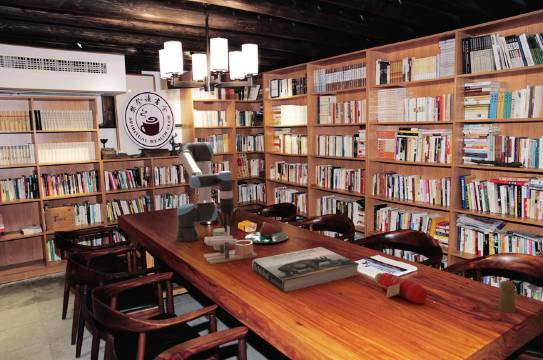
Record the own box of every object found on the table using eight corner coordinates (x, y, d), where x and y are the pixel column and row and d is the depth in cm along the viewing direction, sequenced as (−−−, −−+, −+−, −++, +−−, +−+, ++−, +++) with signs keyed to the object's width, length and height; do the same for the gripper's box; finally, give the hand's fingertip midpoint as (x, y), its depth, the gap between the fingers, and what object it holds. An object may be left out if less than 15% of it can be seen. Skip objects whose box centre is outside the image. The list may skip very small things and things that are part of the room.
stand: (203, 256, 229) (202, 239, 228) (247, 249, 240) (247, 233, 239) (210, 264, 216) (209, 246, 215) (257, 256, 227) (256, 239, 226)
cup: (232, 251, 234) (232, 241, 233) (249, 249, 238) (248, 239, 237) (238, 256, 224) (237, 246, 223) (255, 253, 228) (255, 243, 228)
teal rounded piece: (264, 248, 243) (263, 230, 242) (237, 239, 264) (236, 223, 263) (296, 239, 261) (296, 222, 260) (268, 231, 282) (268, 216, 281)
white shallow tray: (201, 239, 231) (201, 234, 231) (228, 238, 238) (228, 233, 238) (207, 245, 217) (208, 240, 217) (236, 244, 224) (236, 239, 224)
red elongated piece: (408, 294, 155) (364, 275, 177) (410, 312, 157) (366, 291, 178) (429, 282, 161) (384, 265, 182) (431, 300, 162) (386, 281, 184)
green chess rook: (494, 306, 157) (495, 279, 156) (508, 305, 158) (510, 278, 156) (504, 313, 151) (505, 285, 150) (519, 312, 152) (521, 284, 150)
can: (225, 250, 240) (225, 231, 238) (211, 250, 241) (210, 230, 240) (230, 246, 249) (229, 227, 247) (216, 245, 250) (215, 227, 249)
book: (282, 293, 176) (282, 280, 175) (252, 271, 205) (251, 259, 204) (359, 275, 195) (359, 263, 194) (321, 257, 224) (321, 246, 223)
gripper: (217, 199, 226) (219, 240, 229) (239, 197, 231) (240, 237, 234) (213, 197, 233) (215, 237, 236) (235, 195, 238) (236, 234, 241)
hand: (228, 237), depth 235 cm, fingers closed
